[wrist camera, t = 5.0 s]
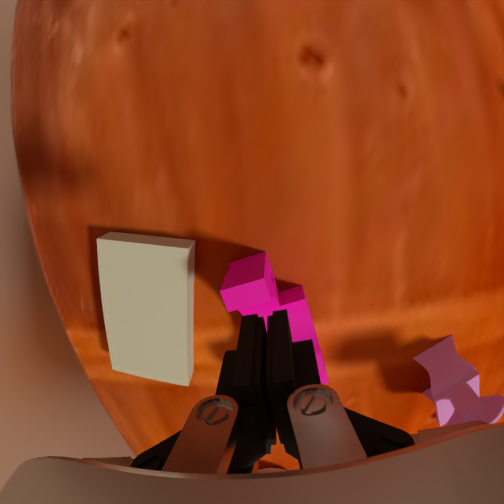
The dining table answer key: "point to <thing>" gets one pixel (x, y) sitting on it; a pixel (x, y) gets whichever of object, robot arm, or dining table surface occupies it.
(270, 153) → the dining table surface
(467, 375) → the toy chair
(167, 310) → the base slab
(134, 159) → the dining table surface
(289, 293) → the toy block
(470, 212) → the dining table surface
